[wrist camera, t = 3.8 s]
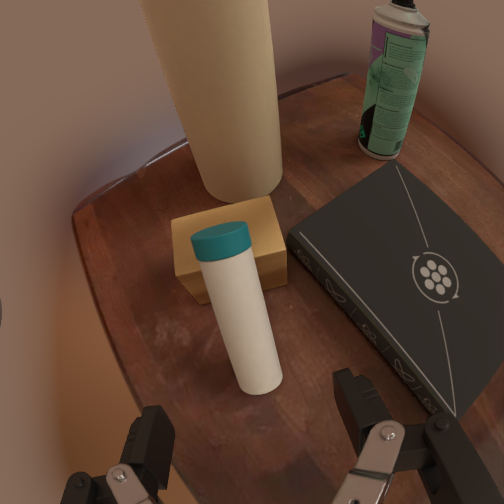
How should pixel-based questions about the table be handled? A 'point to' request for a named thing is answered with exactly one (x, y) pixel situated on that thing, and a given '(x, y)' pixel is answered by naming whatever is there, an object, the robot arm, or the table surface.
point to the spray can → (392, 77)
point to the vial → (239, 304)
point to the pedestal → (222, 90)
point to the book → (411, 284)
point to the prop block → (263, 245)
